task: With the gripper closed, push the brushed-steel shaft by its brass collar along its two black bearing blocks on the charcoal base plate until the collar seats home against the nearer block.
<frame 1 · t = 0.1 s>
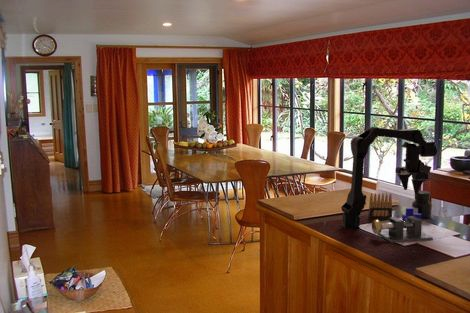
hand: (410, 191, 227), 15 cm above the table, fingers open, 9 cm apart
cable clip: (411, 224, 229), on the table
housing: (404, 236, 209), on the table
ammunition clip: (380, 218, 239), on the table
shaft: (393, 225, 208), point 5 cm above the table, slide at 6.0 cm
ink bottle: (421, 217, 241), on the table
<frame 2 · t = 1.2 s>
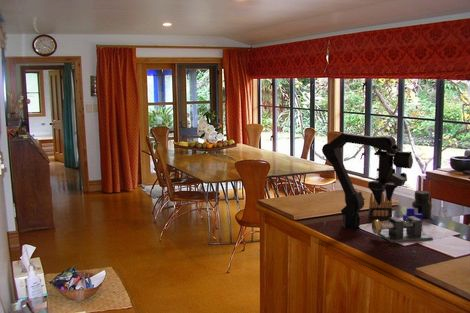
hand: (384, 202, 214), 13 cm above the table, fingers open, 9 cm apart
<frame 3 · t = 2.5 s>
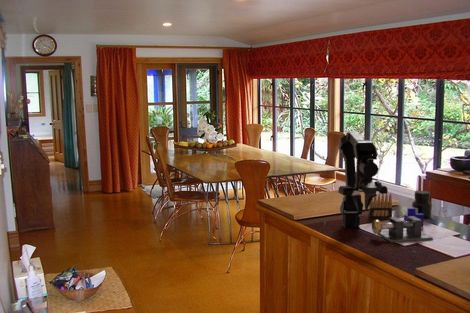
hand: (362, 210, 204), 12 cm above the table, fingers open, 3 cm apart
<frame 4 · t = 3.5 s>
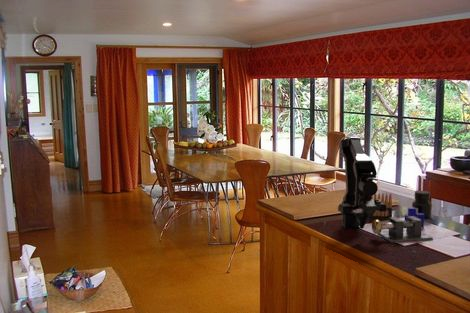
hand: (361, 228, 205), 5 cm above the table, fingers closed
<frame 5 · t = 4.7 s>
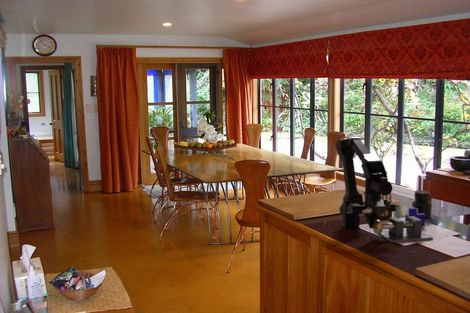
hand: (371, 228, 206), 5 cm above the table, fingers closed
shaft: (394, 225, 208), point 5 cm above the table, slide at 5.6 cm, touching gripper
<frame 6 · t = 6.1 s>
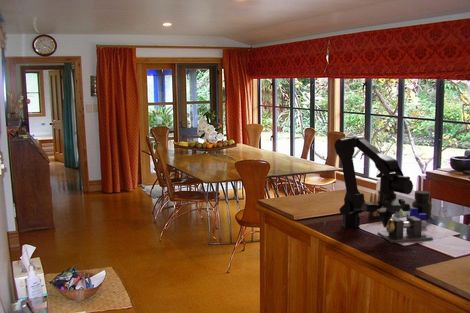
hand: (384, 227, 207), 5 cm above the table, fingers closed
shaft: (407, 224, 209), point 5 cm above the table, slide at -0.1 cm, touching gripper
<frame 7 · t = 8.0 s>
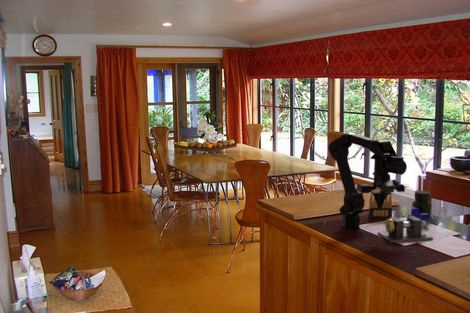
hand: (379, 208, 209), 12 cm above the table, fingers closed
shaft: (406, 224, 209), point 5 cm above the table, slide at 0.0 cm
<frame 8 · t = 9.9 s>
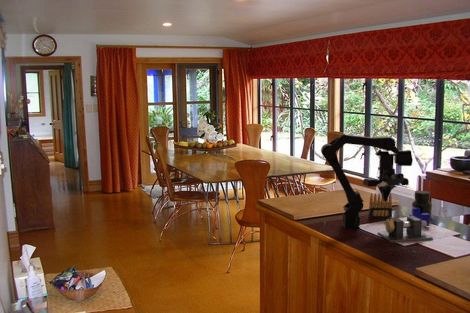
hand: (385, 201, 221), 12 cm above the table, fingers closed
at the end: shaft slide at 0.0 cm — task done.
